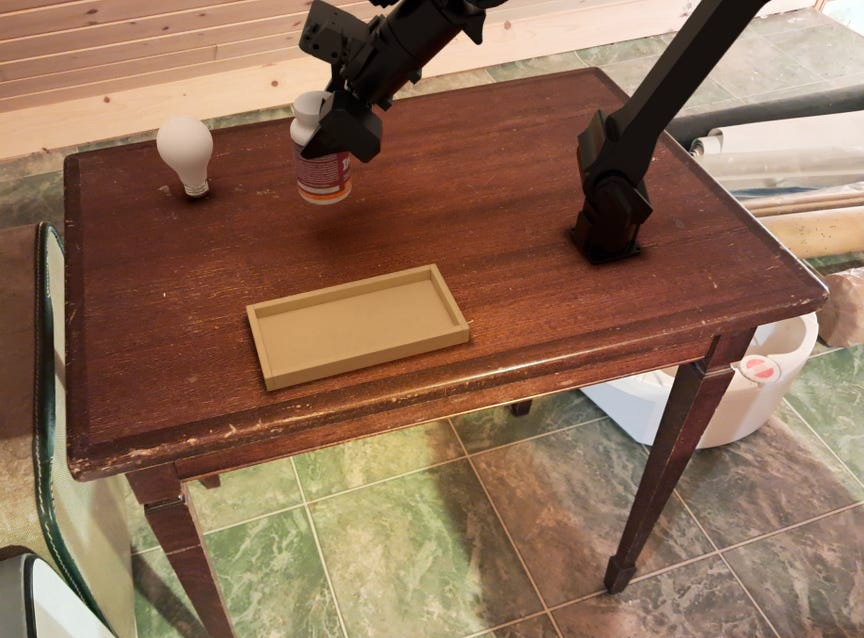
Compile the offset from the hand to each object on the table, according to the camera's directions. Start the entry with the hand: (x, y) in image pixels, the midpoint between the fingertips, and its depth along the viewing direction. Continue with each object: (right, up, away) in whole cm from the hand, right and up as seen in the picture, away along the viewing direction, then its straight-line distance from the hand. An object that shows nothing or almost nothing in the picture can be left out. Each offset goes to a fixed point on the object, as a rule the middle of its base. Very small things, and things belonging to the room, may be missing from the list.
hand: (307, 139), depth 78 cm
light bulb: (-16, -3, +16) cm, 22 cm away
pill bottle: (+2, -5, +5) cm, 7 cm away
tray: (+5, -21, 0) cm, 21 cm away
